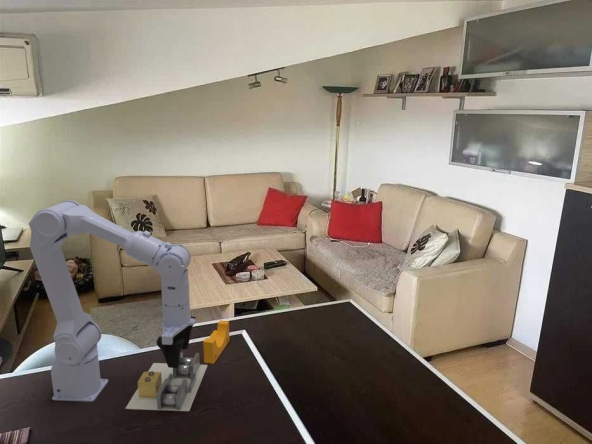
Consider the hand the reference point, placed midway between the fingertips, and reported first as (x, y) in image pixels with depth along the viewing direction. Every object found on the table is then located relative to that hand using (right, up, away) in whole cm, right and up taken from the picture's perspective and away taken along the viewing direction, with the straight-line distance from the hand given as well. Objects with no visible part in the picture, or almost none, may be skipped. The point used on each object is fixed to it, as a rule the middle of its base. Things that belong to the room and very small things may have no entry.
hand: (178, 357), depth 102 cm
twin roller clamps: (-1, -8, +5) cm, 10 cm away
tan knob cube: (-7, -9, +2) cm, 12 cm away
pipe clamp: (+4, -5, +21) cm, 22 cm away
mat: (-3, -8, +5) cm, 11 cm away
